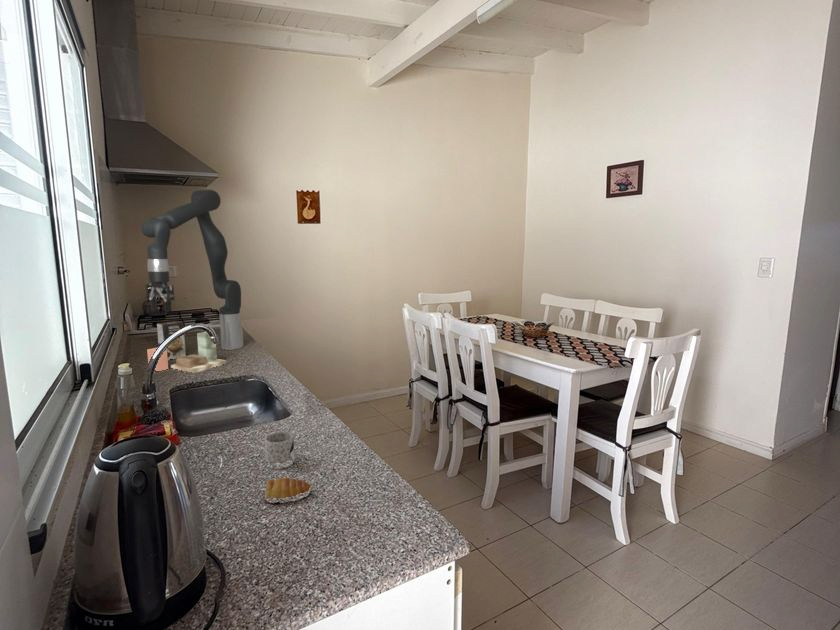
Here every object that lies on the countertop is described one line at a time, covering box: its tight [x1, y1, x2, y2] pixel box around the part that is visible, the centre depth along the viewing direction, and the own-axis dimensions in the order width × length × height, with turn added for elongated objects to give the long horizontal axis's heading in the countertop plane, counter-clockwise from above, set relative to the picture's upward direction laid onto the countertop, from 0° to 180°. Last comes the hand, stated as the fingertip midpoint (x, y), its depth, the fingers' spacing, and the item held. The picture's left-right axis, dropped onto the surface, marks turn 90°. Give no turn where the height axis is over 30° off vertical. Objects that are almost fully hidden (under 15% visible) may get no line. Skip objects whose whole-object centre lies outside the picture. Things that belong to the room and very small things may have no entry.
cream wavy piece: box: [170, 331, 227, 374], centre depth 201 cm, size 16×14×14 cm
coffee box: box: [156, 320, 187, 361], centre depth 214 cm, size 9×6×16 cm
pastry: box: [264, 476, 312, 499], centre depth 102 cm, size 9×7×4 cm
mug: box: [264, 431, 295, 463], centre depth 118 cm, size 10×7×7 cm
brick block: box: [146, 346, 169, 372], centre depth 195 cm, size 5×5×9 cm
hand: (161, 310), depth 195 cm, fingers open, 8 cm apart
